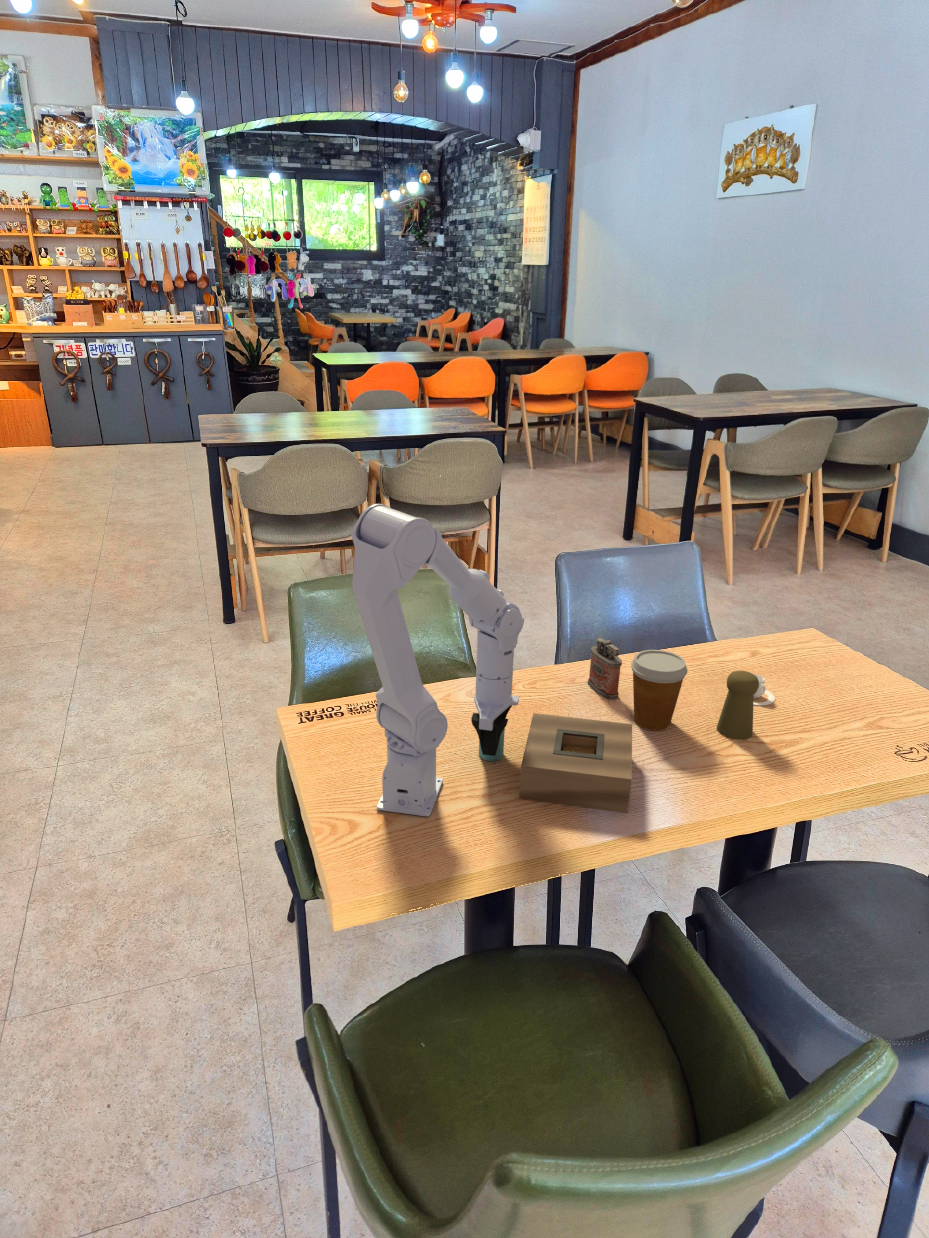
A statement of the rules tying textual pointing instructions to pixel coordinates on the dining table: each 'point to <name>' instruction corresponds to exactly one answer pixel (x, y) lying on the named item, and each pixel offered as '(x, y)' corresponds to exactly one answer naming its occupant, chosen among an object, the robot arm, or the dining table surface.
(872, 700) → the dining table surface
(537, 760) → the block
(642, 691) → the disposable coffee cup
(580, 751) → the beige square pad
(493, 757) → the peg
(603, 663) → the lighter
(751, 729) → the olive green pawn
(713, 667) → the dining table surface
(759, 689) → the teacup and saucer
